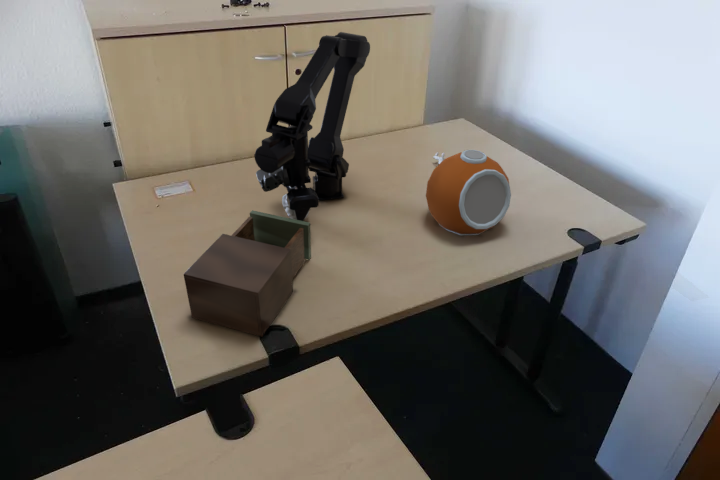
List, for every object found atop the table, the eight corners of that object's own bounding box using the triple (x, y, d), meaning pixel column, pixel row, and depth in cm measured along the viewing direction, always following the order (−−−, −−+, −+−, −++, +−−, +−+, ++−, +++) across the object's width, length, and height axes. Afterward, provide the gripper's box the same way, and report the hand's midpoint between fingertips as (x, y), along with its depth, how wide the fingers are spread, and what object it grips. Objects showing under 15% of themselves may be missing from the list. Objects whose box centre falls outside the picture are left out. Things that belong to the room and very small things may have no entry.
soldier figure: (450, 165, 155) (472, 171, 144) (440, 178, 155) (461, 185, 144) (433, 147, 151) (454, 152, 140) (422, 161, 151) (442, 167, 140)
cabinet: (228, 275, 109) (222, 233, 103) (293, 291, 106) (291, 249, 100) (191, 317, 99) (183, 273, 93) (262, 337, 95) (258, 292, 89)
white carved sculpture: (291, 209, 130) (290, 184, 126) (316, 217, 128) (316, 191, 124) (277, 221, 126) (275, 195, 122) (303, 229, 123) (303, 203, 119)
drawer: (264, 232, 120) (262, 199, 115) (319, 245, 117) (318, 211, 112) (226, 277, 107) (221, 242, 102) (286, 292, 104) (284, 256, 99)
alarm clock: (447, 249, 119) (458, 180, 109) (410, 210, 132) (417, 145, 122) (518, 232, 125) (535, 165, 115) (476, 196, 138) (488, 133, 128)
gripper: (251, 139, 122) (256, 199, 131) (264, 178, 108) (268, 242, 117) (300, 135, 125) (302, 193, 134) (318, 172, 111) (319, 235, 119)
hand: (297, 215), depth 126 cm, fingers closed on white carved sculpture, 6 cm apart
